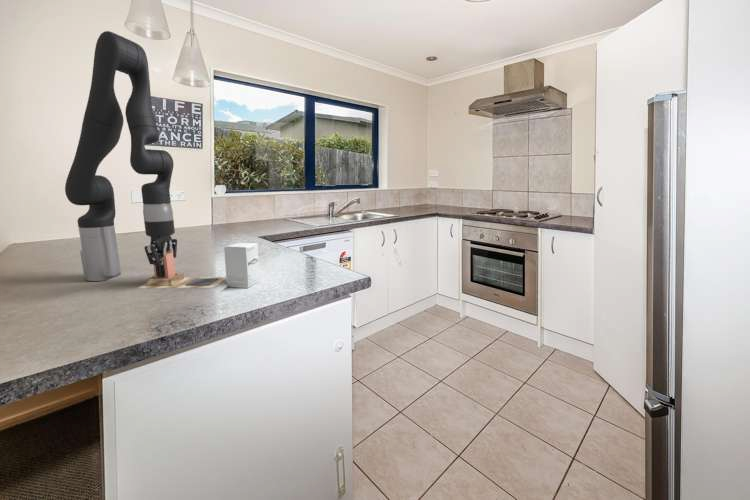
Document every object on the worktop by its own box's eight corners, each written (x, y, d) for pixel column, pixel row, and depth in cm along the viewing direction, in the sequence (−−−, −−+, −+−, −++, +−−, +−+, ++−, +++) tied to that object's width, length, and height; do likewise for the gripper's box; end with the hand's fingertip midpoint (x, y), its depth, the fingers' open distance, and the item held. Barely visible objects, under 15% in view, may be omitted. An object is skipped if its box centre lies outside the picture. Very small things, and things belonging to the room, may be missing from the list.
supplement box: (248, 288, 108) (245, 247, 106) (226, 287, 110) (222, 246, 107) (260, 281, 115) (258, 243, 113) (239, 280, 117) (236, 242, 114)
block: (155, 284, 109) (152, 255, 107) (163, 280, 113) (159, 252, 111) (169, 284, 109) (165, 255, 107) (176, 280, 113) (173, 252, 111)
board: (137, 291, 105) (135, 281, 105) (158, 280, 116) (157, 271, 116) (213, 290, 106) (212, 280, 105) (227, 280, 117) (226, 271, 116)
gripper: (158, 221, 100) (165, 281, 103) (183, 216, 114) (188, 269, 117) (130, 221, 100) (138, 281, 103) (159, 216, 114) (165, 269, 117)
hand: (165, 274), depth 110 cm, fingers closed on block, 4 cm apart
